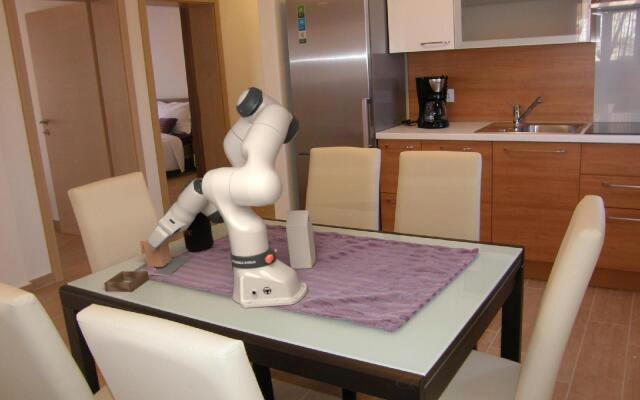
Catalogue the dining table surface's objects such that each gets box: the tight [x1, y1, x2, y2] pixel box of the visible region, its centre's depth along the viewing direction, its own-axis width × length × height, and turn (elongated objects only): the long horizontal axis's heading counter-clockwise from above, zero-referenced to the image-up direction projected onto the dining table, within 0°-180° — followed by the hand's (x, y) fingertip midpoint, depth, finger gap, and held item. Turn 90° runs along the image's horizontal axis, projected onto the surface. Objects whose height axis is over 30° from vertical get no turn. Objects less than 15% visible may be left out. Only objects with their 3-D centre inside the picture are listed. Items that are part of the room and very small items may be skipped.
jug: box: [139, 238, 172, 267], centre depth 205 cm, size 9×6×9 cm, turn 75°
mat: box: [133, 257, 191, 276], centre depth 206 cm, size 16×16×1 cm
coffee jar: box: [182, 212, 214, 253], centre depth 221 cm, size 11×11×18 cm
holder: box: [103, 270, 150, 293], centre depth 192 cm, size 10×10×3 cm
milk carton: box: [285, 209, 317, 270], centre depth 192 cm, size 7×7×19 cm
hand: (158, 245), depth 204 cm, fingers closed on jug, 6 cm apart
